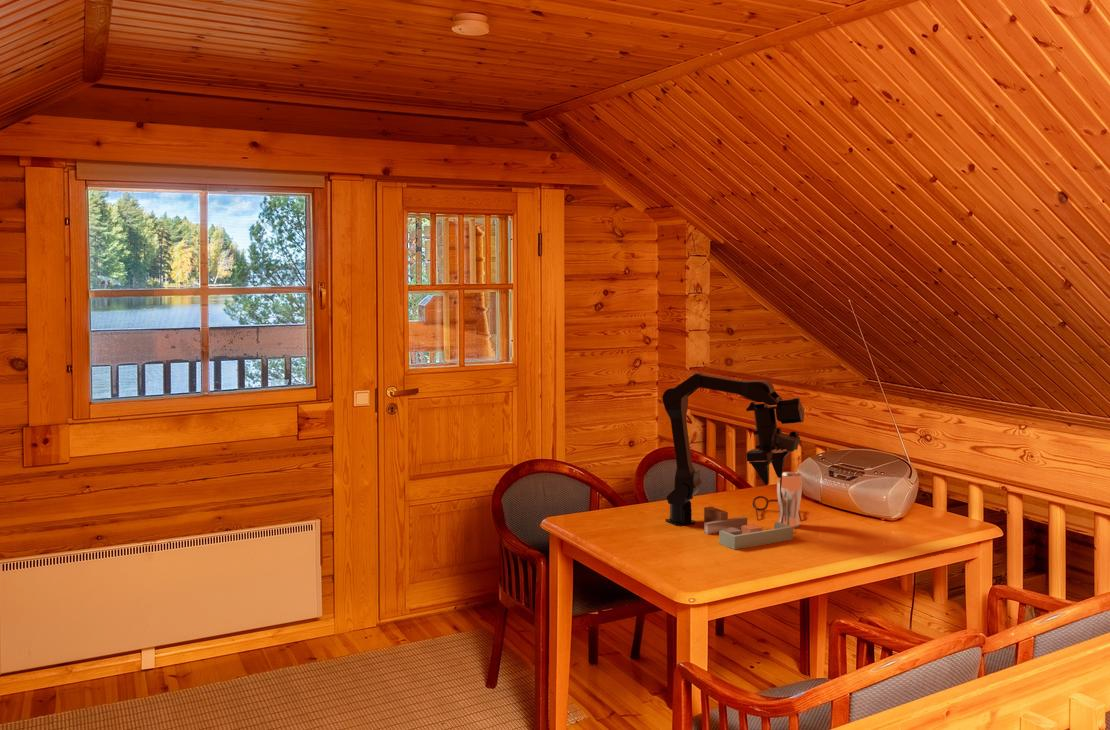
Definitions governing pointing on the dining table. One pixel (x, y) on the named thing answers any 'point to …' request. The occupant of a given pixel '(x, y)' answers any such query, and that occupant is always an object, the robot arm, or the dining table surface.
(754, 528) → the terracotta tile
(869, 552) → the dining table surface
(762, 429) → the robot arm
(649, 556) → the dining table surface
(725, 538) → the box
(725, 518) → the scraper
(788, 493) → the beer glass
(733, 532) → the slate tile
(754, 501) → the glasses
